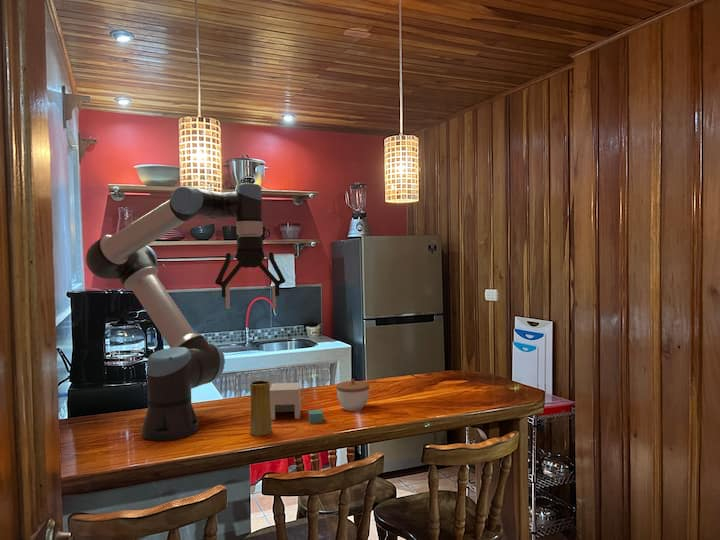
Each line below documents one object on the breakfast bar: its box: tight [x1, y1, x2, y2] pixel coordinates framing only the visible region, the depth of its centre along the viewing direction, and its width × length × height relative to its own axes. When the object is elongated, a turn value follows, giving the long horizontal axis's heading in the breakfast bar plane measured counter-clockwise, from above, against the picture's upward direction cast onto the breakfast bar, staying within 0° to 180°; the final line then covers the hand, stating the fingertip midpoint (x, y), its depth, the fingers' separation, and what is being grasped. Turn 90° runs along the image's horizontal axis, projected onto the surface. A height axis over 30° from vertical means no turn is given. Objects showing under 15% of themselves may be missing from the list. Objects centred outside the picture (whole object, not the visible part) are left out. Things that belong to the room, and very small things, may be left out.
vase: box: [249, 379, 273, 437], centre depth 146 cm, size 6×6×14 cm
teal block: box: [308, 409, 324, 425], centre depth 155 cm, size 4×4×3 cm
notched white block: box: [270, 382, 301, 421], centre depth 162 cm, size 9×9×9 cm
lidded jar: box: [335, 378, 370, 412], centre depth 168 cm, size 11×11×9 cm
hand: (251, 308), depth 153 cm, fingers open, 13 cm apart
